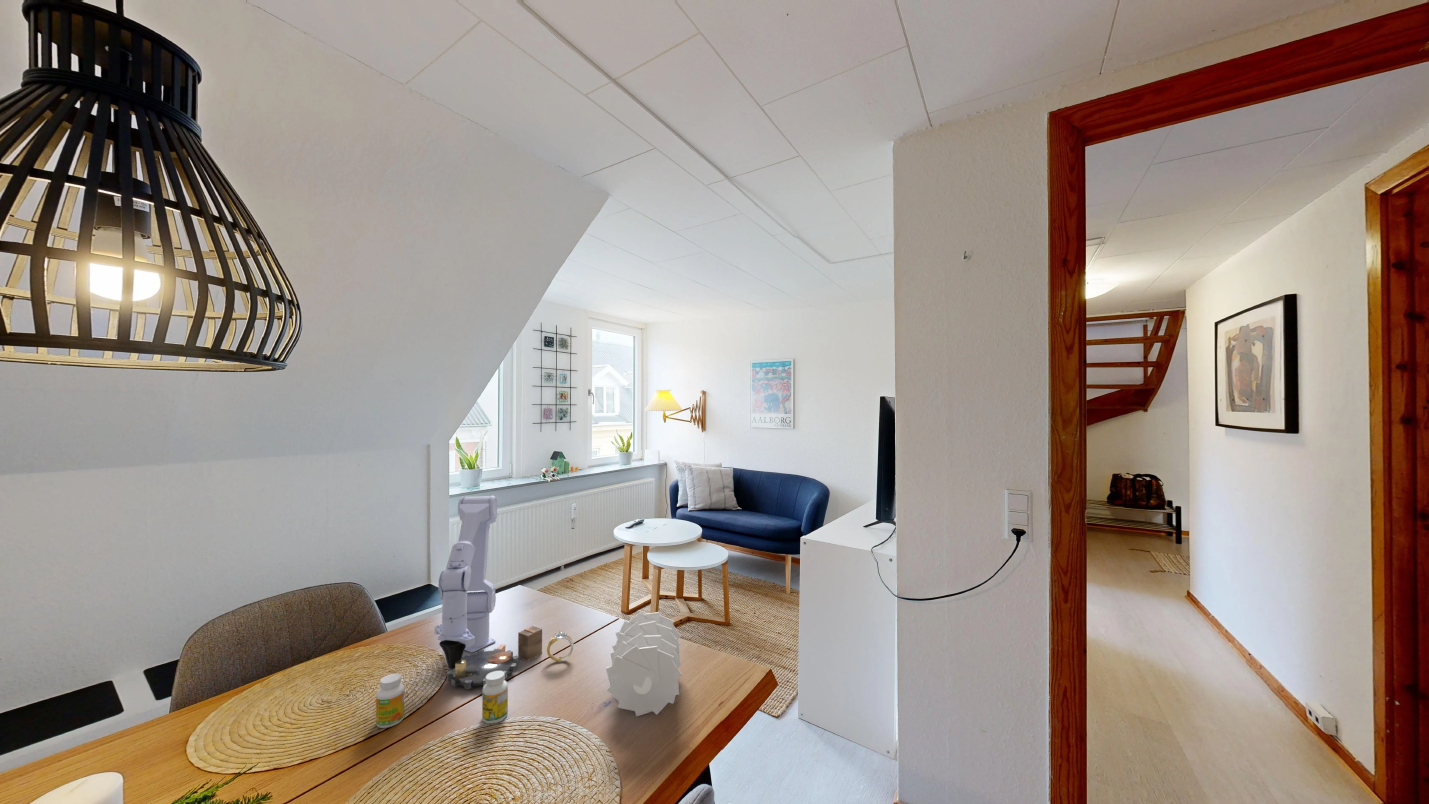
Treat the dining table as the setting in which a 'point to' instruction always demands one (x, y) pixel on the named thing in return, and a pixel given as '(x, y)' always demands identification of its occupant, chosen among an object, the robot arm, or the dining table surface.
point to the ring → (557, 636)
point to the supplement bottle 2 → (495, 697)
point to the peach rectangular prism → (501, 647)
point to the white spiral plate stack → (645, 664)
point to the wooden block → (529, 643)
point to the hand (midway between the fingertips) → (454, 667)
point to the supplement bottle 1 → (390, 701)
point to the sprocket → (481, 667)
